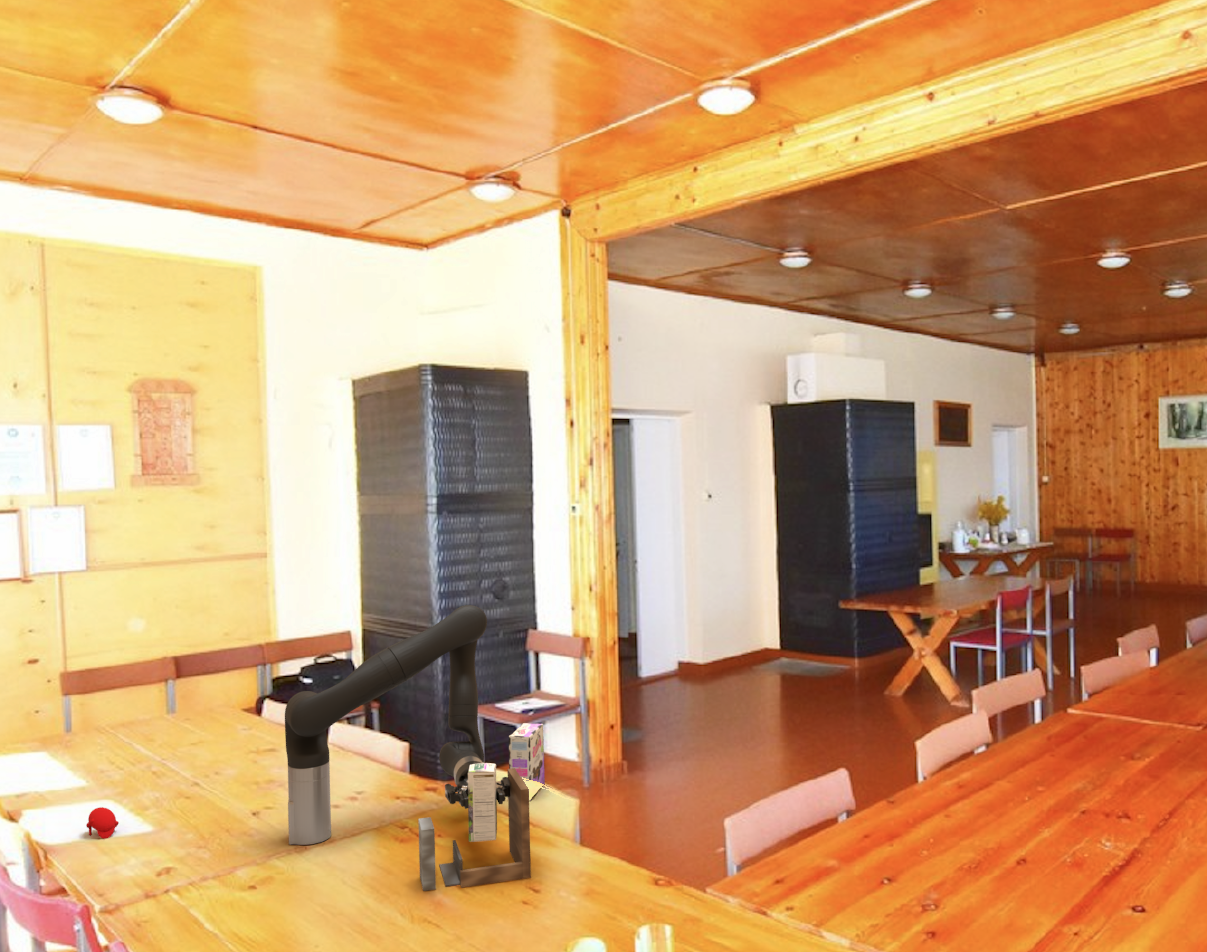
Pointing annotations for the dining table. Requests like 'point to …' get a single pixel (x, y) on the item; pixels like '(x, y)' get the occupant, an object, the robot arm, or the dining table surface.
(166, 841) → the dining table surface
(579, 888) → the dining table surface
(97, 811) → the cap
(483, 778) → the syrup box
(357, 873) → the dining table surface
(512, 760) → the candy box
